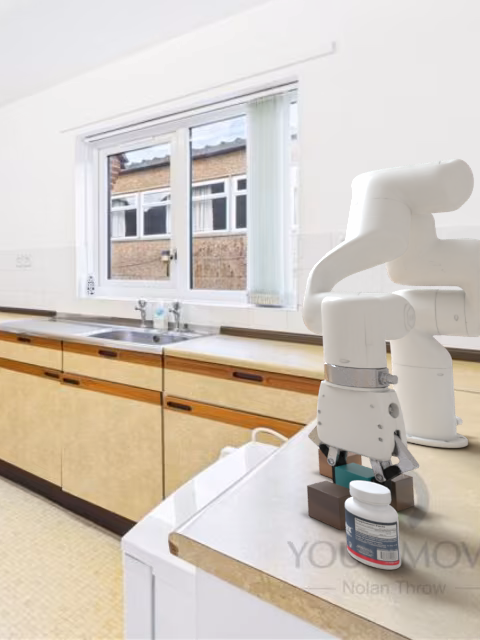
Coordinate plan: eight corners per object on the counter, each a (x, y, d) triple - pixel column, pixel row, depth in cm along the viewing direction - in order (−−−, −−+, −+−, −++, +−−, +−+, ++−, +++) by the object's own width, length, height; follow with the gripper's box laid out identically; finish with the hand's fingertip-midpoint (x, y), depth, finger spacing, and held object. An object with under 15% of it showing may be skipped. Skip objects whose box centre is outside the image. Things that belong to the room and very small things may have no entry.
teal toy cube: (354, 491, 75) (353, 462, 75) (387, 503, 71) (386, 473, 71) (336, 496, 73) (334, 467, 74) (369, 509, 69) (367, 478, 69)
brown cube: (327, 509, 73) (326, 480, 73) (360, 523, 68) (358, 492, 69) (308, 515, 71) (306, 485, 71) (340, 530, 67) (338, 498, 67)
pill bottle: (350, 541, 64) (347, 474, 64) (403, 557, 60) (399, 486, 61) (343, 558, 60) (339, 486, 61) (398, 576, 57) (394, 500, 57)
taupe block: (381, 494, 77) (379, 466, 77) (414, 506, 73) (413, 476, 73) (363, 499, 76) (362, 470, 76) (397, 511, 72) (395, 481, 72)
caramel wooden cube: (335, 469, 87) (334, 445, 87) (362, 479, 83) (361, 453, 83) (319, 473, 85) (318, 448, 86) (346, 483, 81) (344, 457, 81)
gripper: (440, 385, 66) (448, 519, 66) (314, 365, 82) (319, 473, 81) (407, 391, 64) (415, 531, 63) (284, 369, 79) (289, 481, 79)
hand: (361, 497), depth 72 cm, fingers closed on teal toy cube, 4 cm apart
